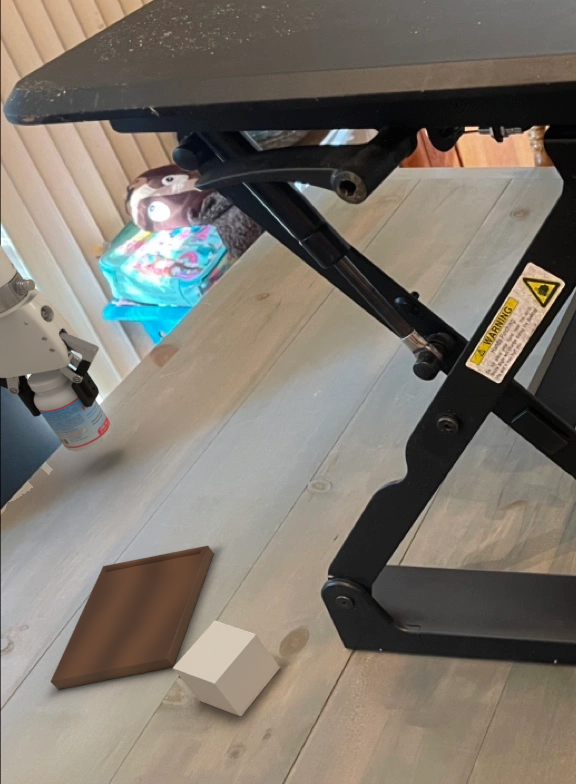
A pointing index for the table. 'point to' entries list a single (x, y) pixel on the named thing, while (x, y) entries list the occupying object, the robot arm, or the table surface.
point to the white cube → (227, 668)
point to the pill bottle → (68, 411)
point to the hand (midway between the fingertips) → (66, 403)
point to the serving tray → (134, 618)
